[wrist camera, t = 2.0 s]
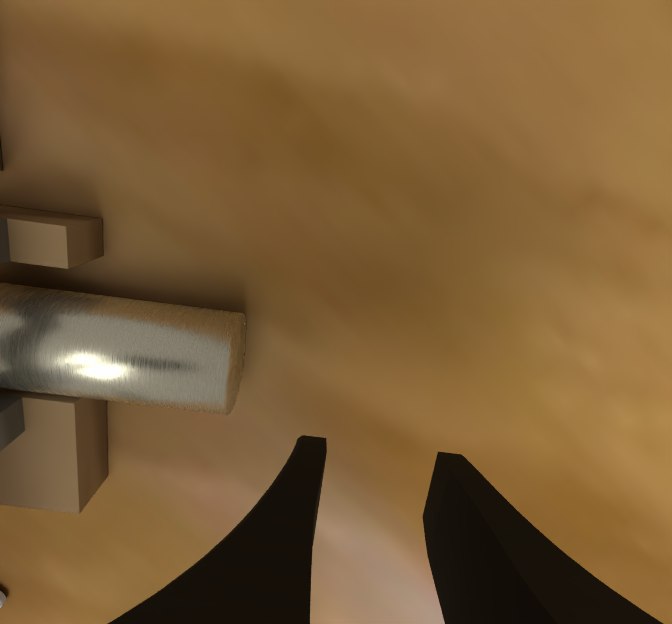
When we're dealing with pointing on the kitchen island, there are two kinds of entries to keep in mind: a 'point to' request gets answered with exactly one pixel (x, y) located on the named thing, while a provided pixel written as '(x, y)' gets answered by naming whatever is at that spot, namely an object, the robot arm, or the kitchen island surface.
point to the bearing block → (41, 408)
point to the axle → (120, 349)
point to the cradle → (0, 160)
